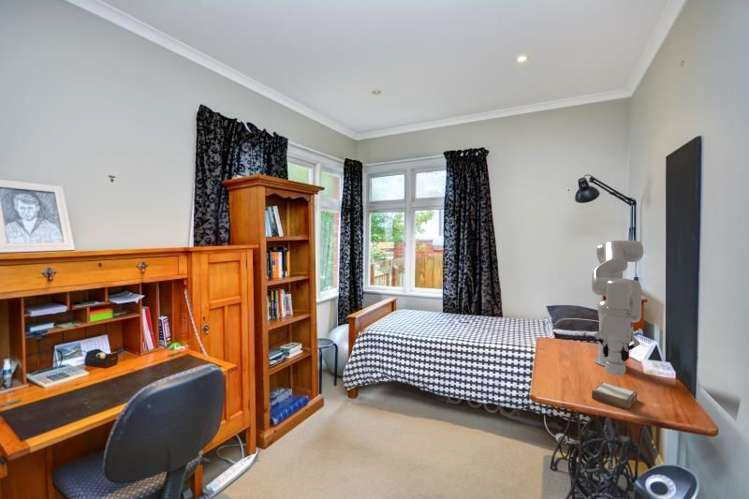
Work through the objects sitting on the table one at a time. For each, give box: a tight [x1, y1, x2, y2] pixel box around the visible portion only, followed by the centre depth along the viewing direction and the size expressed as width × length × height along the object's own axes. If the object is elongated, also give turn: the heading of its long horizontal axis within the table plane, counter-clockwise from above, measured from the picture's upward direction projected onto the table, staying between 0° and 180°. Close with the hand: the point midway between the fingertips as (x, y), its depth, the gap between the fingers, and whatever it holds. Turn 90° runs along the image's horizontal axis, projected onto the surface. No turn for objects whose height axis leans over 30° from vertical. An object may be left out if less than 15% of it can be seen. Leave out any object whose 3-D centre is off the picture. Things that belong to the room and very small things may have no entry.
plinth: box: [591, 381, 638, 410], centre depth 138 cm, size 12×12×3 cm
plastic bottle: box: [604, 333, 627, 377], centre depth 137 cm, size 6×7×20 cm
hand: (615, 358), depth 138 cm, fingers closed on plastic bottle, 5 cm apart
